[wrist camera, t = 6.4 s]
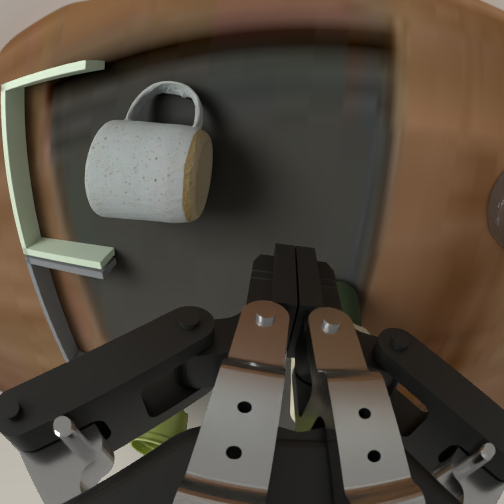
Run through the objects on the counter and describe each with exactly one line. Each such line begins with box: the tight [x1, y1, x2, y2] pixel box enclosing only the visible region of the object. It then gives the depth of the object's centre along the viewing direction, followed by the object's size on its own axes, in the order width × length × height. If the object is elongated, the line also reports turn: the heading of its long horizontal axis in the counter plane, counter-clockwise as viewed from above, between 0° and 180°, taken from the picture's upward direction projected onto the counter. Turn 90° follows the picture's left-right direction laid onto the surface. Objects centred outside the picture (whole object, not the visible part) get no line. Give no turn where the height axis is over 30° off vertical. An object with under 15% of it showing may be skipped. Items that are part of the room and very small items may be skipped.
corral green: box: [1, 60, 115, 269], centre depth 24 cm, size 12×20×3 cm, turn 176°
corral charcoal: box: [25, 255, 116, 363], centre depth 34 cm, size 12×20×3 cm, turn 176°
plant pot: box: [130, 410, 188, 455], centre depth 41 cm, size 9×9×9 cm
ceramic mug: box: [85, 81, 213, 223], centre depth 20 cm, size 11×8×8 cm
